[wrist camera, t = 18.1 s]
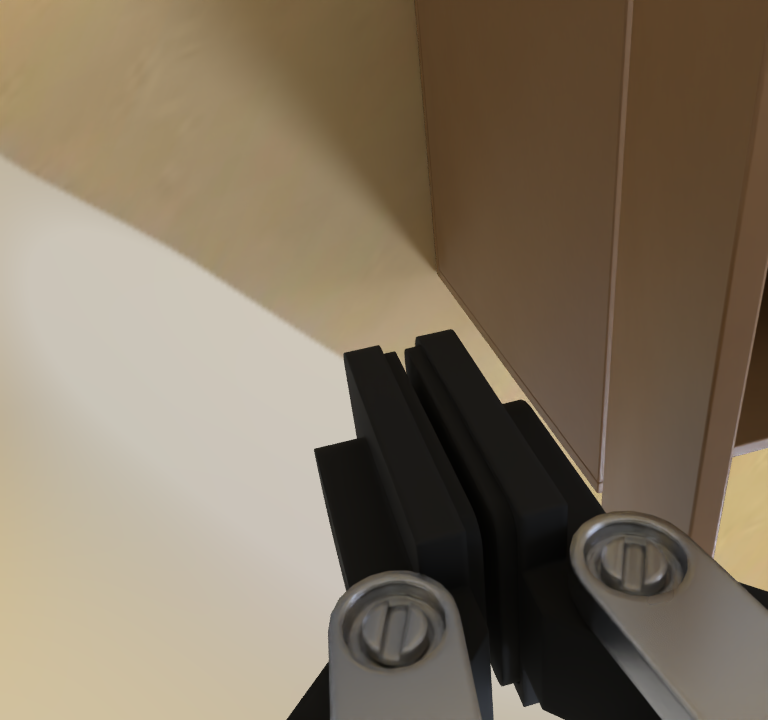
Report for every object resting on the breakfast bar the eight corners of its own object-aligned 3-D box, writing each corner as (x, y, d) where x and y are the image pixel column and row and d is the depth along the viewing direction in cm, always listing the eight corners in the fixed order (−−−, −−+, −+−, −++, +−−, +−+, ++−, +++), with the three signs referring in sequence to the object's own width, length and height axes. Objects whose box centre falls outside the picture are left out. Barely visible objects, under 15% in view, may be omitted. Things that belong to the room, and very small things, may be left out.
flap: (616, 509, 19) (600, 510, 19) (673, -194, 11) (644, -190, 11) (674, 775, 13) (651, 774, 14) (869, -259, 6) (810, -251, 6)
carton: (437, 274, 32) (597, 494, 20) (402, -140, 24) (637, -192, 12) (725, 211, 34) (1031, 377, 22) (784, -190, 26) (1320, -279, 14)
